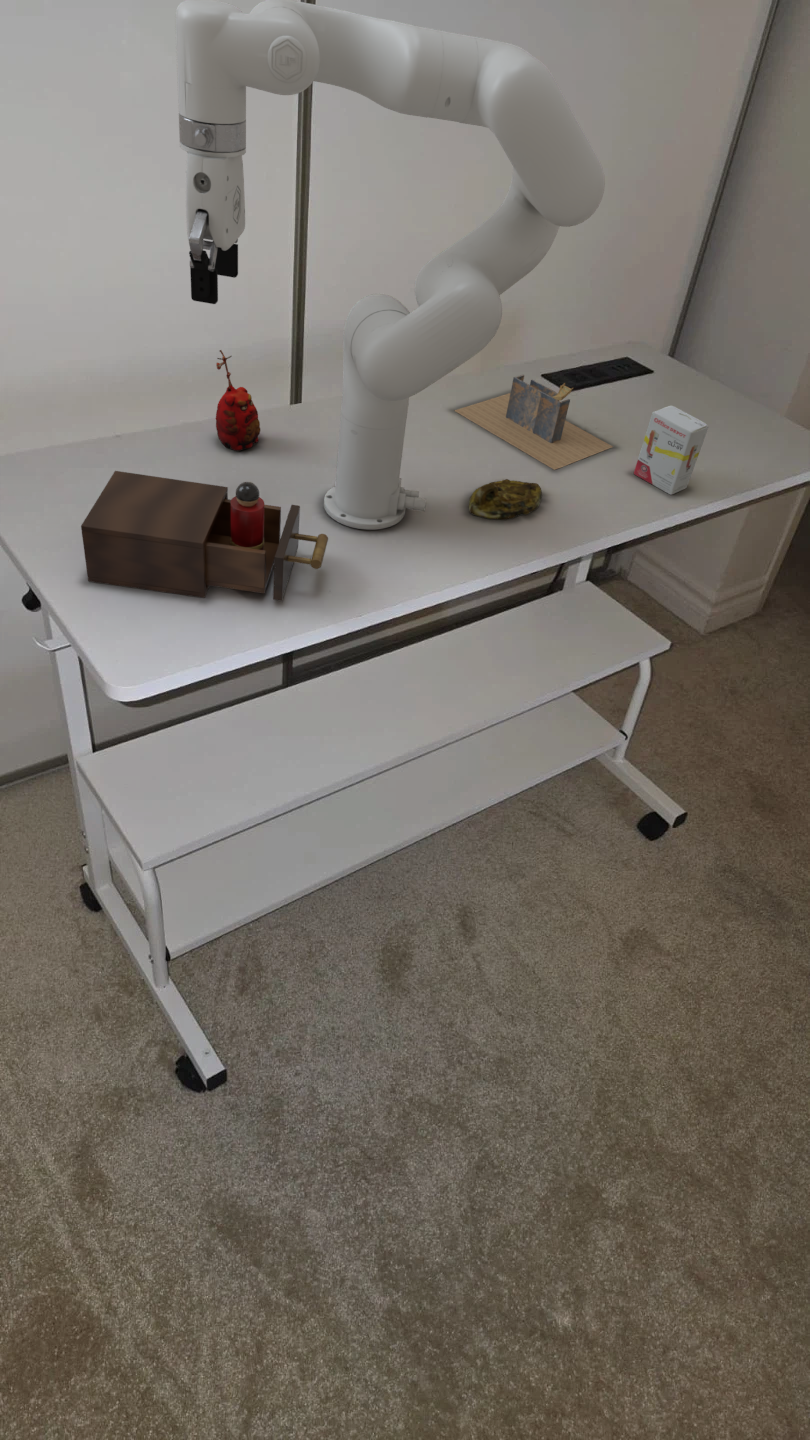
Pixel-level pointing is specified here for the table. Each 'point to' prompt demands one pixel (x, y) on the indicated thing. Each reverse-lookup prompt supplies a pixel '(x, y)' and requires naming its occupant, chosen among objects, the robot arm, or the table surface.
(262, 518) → the red cylinder
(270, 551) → the drawer
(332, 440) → the table surface
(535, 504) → the mottled olive oval lump
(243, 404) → the red clay folk toy
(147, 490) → the cabinet
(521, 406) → the ruin model on sheet
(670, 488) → the ink box
